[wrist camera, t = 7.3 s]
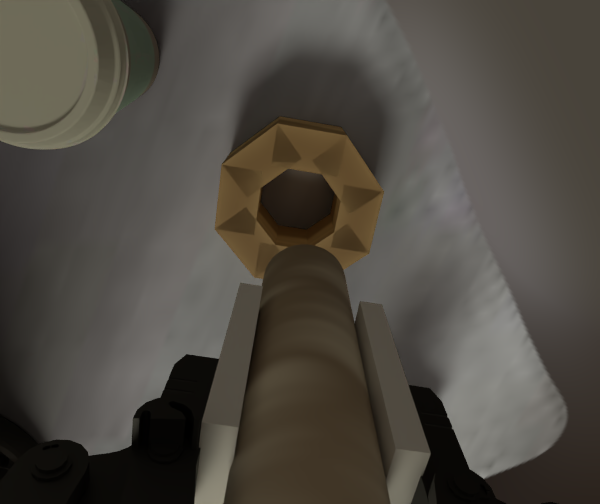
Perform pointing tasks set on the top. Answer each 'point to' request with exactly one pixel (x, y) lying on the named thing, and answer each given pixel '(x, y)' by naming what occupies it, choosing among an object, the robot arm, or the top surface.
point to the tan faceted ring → (305, 157)
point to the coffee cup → (69, 68)
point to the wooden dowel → (306, 394)
